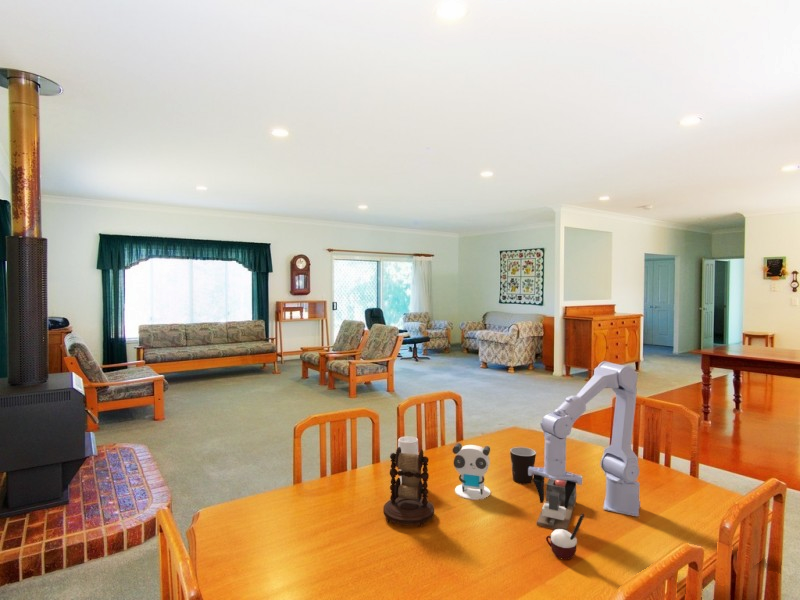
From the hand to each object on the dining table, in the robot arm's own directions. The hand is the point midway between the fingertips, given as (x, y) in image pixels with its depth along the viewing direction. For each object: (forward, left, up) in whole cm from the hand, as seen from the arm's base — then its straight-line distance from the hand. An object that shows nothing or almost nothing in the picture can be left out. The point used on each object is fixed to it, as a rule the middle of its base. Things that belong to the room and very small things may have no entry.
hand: (554, 504), depth 136 cm
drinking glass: (+48, -4, -5) cm, 48 cm away
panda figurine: (+27, -8, -5) cm, 29 cm away
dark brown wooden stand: (+38, +16, -6) cm, 42 cm away
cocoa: (-5, +16, -5) cm, 18 cm away
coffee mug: (+14, -26, -5) cm, 30 cm away
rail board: (0, -6, -5) cm, 8 cm away
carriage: (0, 0, -3) cm, 3 cm away
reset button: (0, -13, +1) cm, 13 cm away
